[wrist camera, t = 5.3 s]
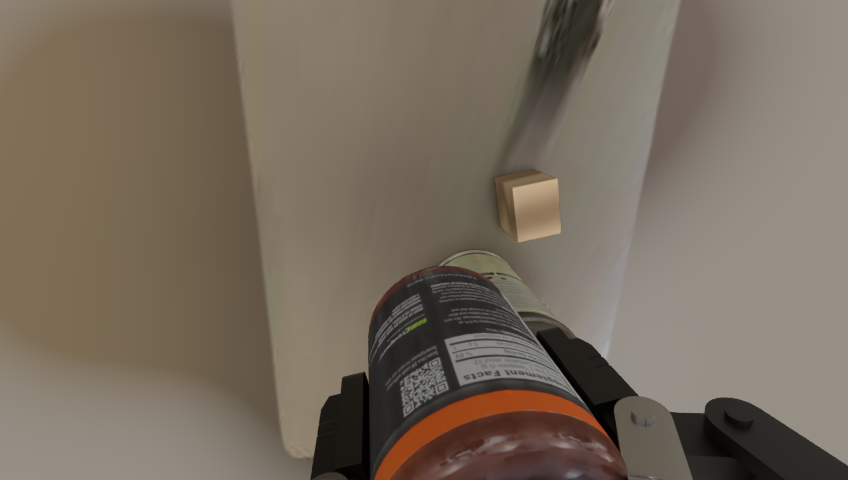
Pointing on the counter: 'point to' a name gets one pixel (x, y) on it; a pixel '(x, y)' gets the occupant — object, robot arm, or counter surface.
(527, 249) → the counter surface
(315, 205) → the counter surface
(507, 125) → the counter surface
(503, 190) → the tan metallic cube
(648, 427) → the robot arm
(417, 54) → the counter surface
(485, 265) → the coffee can
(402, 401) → the supplement bottle
